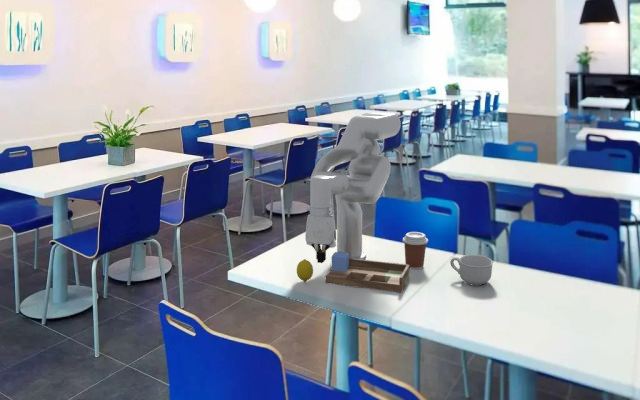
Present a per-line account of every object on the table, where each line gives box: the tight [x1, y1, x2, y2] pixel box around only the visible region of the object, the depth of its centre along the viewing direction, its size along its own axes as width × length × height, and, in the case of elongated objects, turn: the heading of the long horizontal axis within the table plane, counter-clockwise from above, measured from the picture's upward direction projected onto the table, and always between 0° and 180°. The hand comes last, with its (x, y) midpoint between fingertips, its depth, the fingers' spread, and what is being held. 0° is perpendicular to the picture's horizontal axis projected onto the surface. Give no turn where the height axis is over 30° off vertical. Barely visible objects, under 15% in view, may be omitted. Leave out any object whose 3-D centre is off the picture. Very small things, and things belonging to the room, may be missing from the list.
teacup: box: [449, 254, 494, 286], centre depth 190 cm, size 14×11×8 cm
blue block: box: [331, 251, 349, 272], centre depth 196 cm, size 5×5×5 cm
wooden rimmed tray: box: [324, 258, 411, 293], centre depth 191 cm, size 13×26×5 cm, turn 70°
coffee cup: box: [402, 231, 429, 270], centre depth 204 cm, size 9×9×12 cm
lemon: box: [296, 259, 314, 283], centre depth 191 cm, size 6×6×8 cm
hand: (321, 261), depth 199 cm, fingers closed
